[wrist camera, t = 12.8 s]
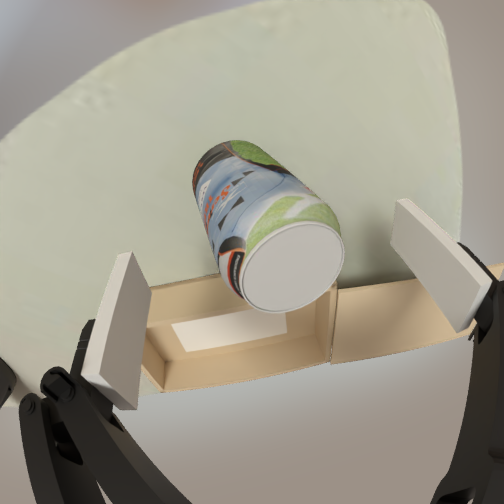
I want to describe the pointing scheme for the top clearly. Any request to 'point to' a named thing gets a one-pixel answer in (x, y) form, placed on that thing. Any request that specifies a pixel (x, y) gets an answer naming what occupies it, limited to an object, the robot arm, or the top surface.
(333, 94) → the top surface
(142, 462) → the robot arm
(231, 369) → the box
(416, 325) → the lid
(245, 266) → the beverage can
